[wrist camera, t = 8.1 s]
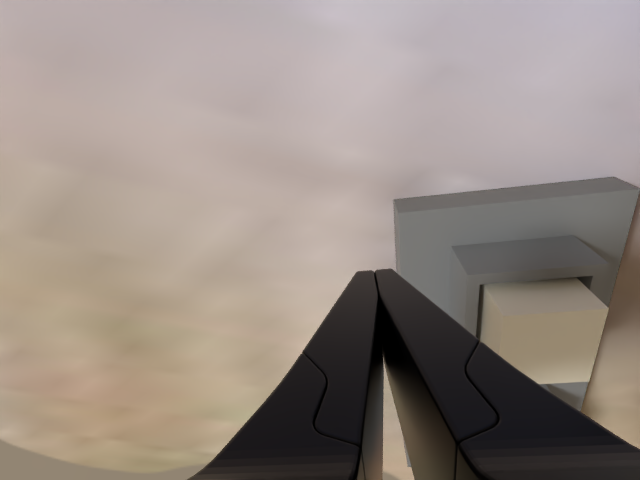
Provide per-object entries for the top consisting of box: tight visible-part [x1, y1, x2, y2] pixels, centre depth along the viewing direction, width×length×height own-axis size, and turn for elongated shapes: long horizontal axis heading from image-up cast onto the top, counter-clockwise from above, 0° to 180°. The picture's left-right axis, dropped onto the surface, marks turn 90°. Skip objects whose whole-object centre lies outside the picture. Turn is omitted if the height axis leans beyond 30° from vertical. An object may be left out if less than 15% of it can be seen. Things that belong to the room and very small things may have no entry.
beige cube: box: [476, 277, 609, 384], centre depth 19 cm, size 4×4×4 cm
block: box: [394, 177, 640, 467], centre depth 24 cm, size 12×22×5 cm, turn 7°
